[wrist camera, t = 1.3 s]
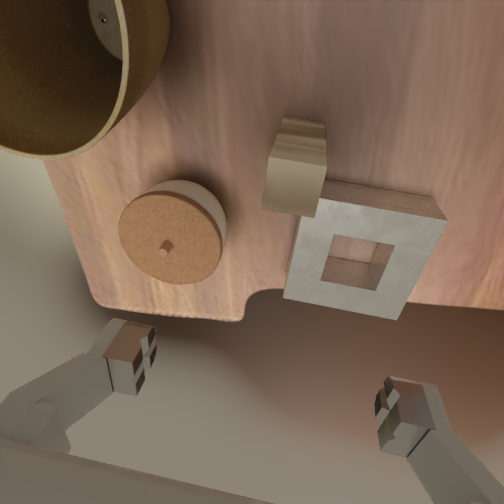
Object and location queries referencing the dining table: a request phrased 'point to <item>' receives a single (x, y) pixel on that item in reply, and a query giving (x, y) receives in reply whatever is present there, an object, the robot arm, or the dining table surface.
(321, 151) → the ash peg
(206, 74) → the dining table surface
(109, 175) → the dining table surface
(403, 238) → the socket block
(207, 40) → the dining table surface
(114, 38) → the plant pot
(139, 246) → the lidded jar
